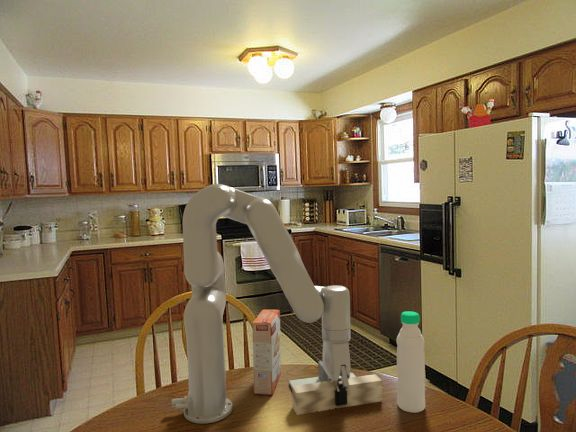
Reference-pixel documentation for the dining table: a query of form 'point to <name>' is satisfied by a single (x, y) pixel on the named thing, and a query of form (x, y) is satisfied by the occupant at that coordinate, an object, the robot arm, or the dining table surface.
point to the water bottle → (410, 364)
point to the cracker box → (266, 351)
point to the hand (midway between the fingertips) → (337, 398)
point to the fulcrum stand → (321, 378)
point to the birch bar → (324, 394)
